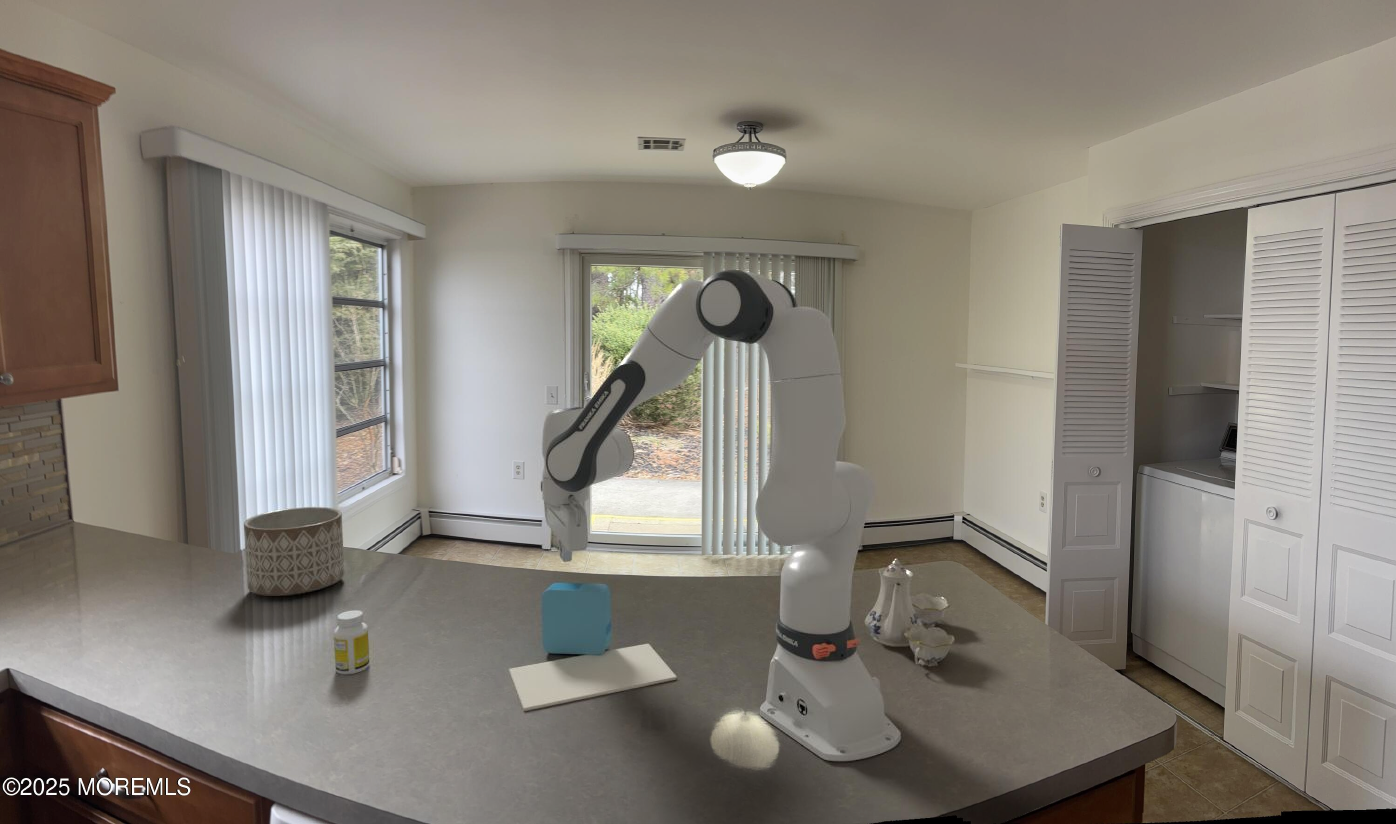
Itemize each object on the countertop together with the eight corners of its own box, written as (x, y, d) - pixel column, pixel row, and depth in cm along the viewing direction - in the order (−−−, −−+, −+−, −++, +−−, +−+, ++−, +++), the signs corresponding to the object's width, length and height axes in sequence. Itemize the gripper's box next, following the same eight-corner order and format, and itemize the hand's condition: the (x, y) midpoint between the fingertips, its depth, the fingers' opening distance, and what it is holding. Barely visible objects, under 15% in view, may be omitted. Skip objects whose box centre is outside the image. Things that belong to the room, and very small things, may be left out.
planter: (262, 576, 167) (258, 509, 165) (351, 569, 172) (348, 504, 171) (235, 607, 148) (231, 532, 147) (336, 597, 154) (332, 525, 152)
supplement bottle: (370, 658, 126) (368, 606, 125) (368, 672, 121) (366, 618, 120) (337, 663, 124) (334, 610, 123) (333, 677, 119) (330, 622, 118)
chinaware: (961, 687, 122) (977, 597, 120) (864, 667, 125) (878, 579, 123) (940, 623, 149) (952, 549, 147) (861, 608, 152) (872, 535, 150)
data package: (611, 646, 131) (610, 583, 131) (606, 655, 127) (604, 591, 126) (550, 644, 133) (548, 582, 132) (542, 653, 128) (540, 589, 128)
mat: (676, 679, 120) (676, 676, 120) (523, 711, 109) (523, 708, 109) (648, 646, 132) (648, 643, 132) (509, 671, 122) (509, 668, 122)
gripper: (596, 501, 126) (596, 575, 127) (569, 478, 144) (569, 542, 146) (562, 504, 123) (562, 579, 125) (538, 480, 142) (538, 546, 143)
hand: (565, 559), depth 136 cm, fingers closed
